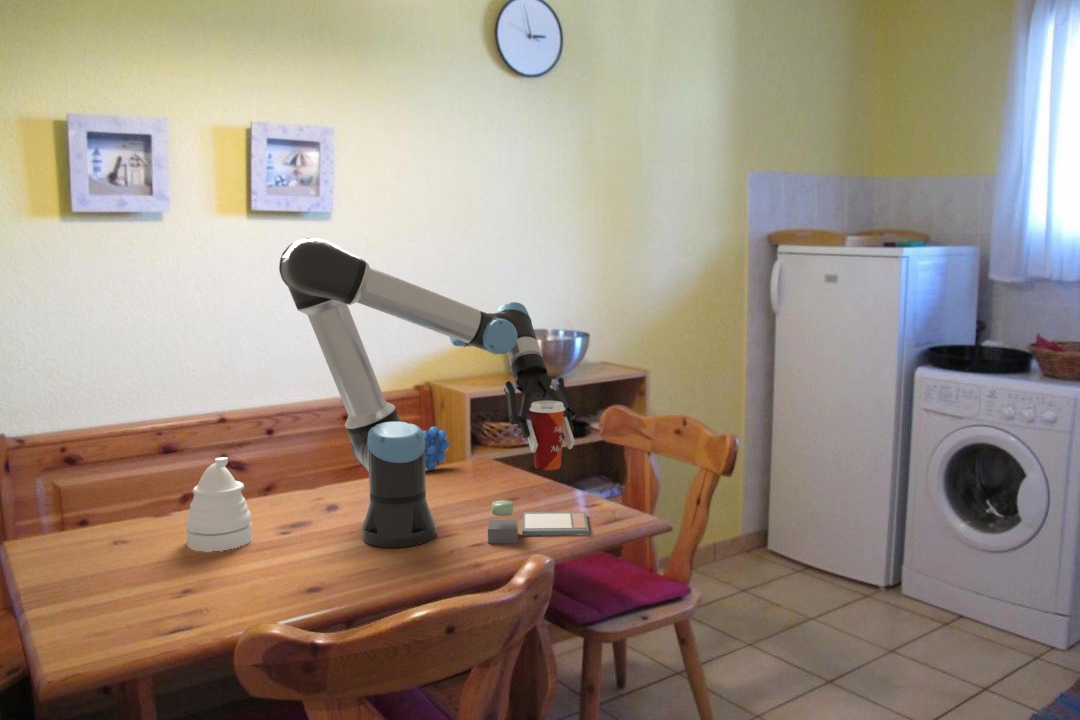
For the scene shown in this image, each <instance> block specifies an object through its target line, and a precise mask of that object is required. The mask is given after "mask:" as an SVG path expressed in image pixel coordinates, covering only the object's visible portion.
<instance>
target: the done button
mask: <svg viewBox="0 0 1080 720" xmlns="http://www.w3.org/2000/svg"><path fill="white" fill-rule="evenodd" d="M491 509H492V510H491V512H492V513H491V514H492V515H494V516H497V517H500V516H501V517H507V516H511V515H513V514H514V502H513V501H511V500H496V501H492V503H491Z"/></svg>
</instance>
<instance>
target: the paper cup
mask: <svg viewBox="0 0 1080 720" xmlns="http://www.w3.org/2000/svg"><path fill="white" fill-rule="evenodd" d="M559 401H560V400H559ZM559 401H544V400H537V401H533V402H532V403H531V405H530V407H529V411H530V413H531V414H530V415H531V417H530V419H531V423H532V427H533V430H534V433H535V437H536V440H537V443H538V447H537V449H536V451H535V452H533V459H534V468H536V469H537V470H540V471H541V470H542V471H555V470H559V469H560V468H561V465H562V454H563V453H562V452H563V451H562V450H563V437H564V434H563V418H564V410H565V408H564V405H563V403H562V402H561V401H560V402H559Z"/></svg>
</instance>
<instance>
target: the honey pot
mask: <svg viewBox="0 0 1080 720" xmlns="http://www.w3.org/2000/svg"><path fill="white" fill-rule="evenodd" d="M214 462H215V463H212V464H210V465H209V466H208V467H207V468H206V469H205V471H204V472H203V474H202V475H201V478H200V479H199V482H198V484H197V485H196V486H194V487H193V488H192V493H193V499H192V502H190V506H189V509H188V516H187V517H186V521H185V525H186V526H185V527H186V545H187V546H188V547H189V548H191V549H194V550H198V551H204V552H203V553H213V552H212V551H220V552H224V551H223V550H227V551H229V550H228V549H232V550H234V549H233V548H236V549H238V548H237V547H239V548H241V547H240V546H242V547H244V546H246V545H245V544H247V543H248V544H249V542H250V541H251V542H252V541H253V527H252V513H251V511H250V510H249V508H248V504H247V502H246V498H245V497H244V495H243V494H242V491H243V489H245V485H244V483H243V482H241V481H238V480H235V477H234V476H233V475H232V474H231V472H230V471H229V470H228V468H227V467H226V466H227V465H228V462H229V458H228V457H225V456H221V457H216V458H214ZM251 542H250V543H251ZM248 544H247V545H248ZM243 545H244V546H243ZM187 546H186V547H187ZM188 547H187V548H188ZM189 548H188V549H189ZM191 549H190V550H191ZM198 551H197V552H198Z"/></svg>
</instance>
